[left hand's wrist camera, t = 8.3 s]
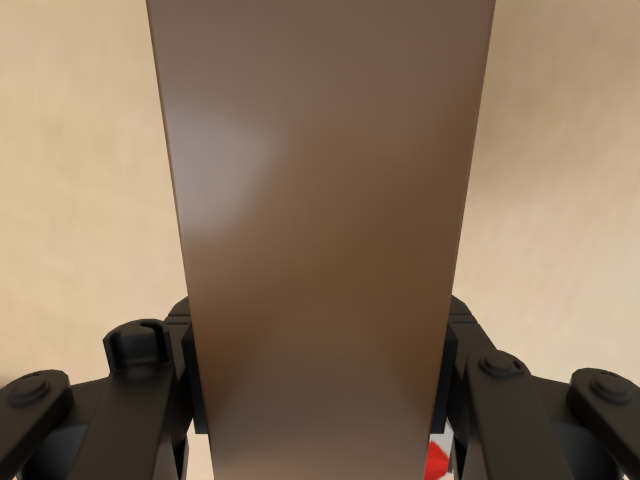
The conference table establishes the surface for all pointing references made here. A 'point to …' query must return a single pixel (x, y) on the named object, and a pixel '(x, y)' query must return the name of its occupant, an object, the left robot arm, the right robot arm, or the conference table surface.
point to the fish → (439, 454)
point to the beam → (319, 219)
